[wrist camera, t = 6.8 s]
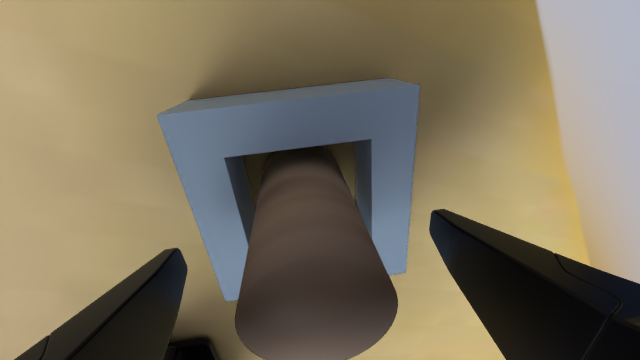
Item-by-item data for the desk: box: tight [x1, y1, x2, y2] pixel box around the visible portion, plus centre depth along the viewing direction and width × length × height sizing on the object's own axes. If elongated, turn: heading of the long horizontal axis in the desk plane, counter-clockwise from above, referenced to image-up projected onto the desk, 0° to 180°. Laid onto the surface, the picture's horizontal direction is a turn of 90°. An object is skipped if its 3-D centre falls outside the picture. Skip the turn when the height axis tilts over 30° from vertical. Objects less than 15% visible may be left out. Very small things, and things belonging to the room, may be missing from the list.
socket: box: [157, 78, 420, 301], centre depth 12 cm, size 9×9×3 cm
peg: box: [235, 146, 398, 360], centre depth 10 cm, size 4×4×8 cm
